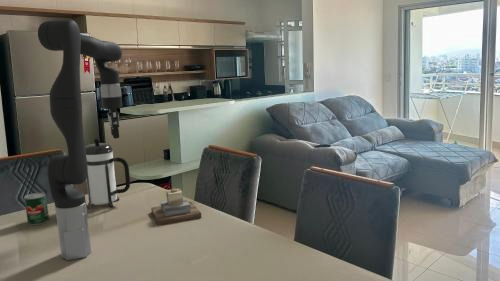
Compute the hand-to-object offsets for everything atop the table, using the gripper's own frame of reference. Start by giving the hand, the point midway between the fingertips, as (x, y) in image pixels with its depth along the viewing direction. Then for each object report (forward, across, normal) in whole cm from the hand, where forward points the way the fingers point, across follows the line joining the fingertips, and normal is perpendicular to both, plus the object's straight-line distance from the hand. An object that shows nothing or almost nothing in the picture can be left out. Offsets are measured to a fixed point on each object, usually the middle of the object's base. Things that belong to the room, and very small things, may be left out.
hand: (115, 136), depth 170 cm
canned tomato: (+33, +10, +32) cm, 47 cm away
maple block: (+28, -9, -20) cm, 36 cm away
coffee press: (+33, +20, +5) cm, 39 cm away
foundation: (+33, -9, -20) cm, 40 cm away
